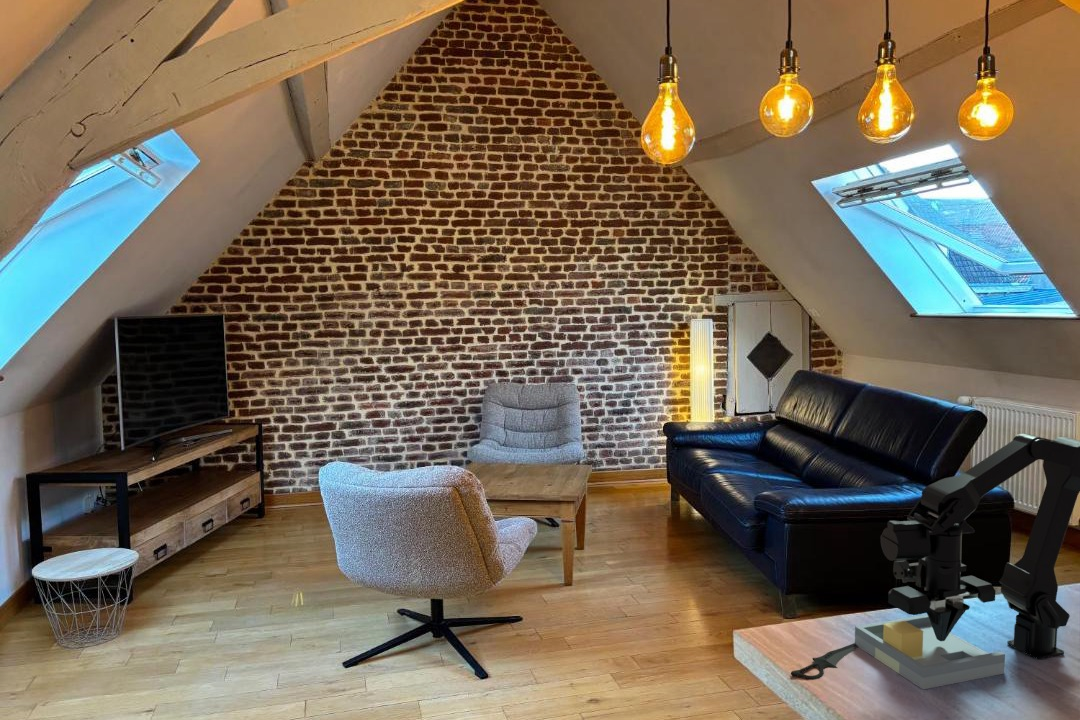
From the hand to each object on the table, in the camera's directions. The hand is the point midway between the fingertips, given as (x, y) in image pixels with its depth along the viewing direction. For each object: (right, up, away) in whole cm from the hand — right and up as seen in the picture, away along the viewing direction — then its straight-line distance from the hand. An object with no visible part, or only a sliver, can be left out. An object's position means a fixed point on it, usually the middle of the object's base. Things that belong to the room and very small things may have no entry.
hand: (940, 640), depth 141 cm
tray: (-3, -3, -1) cm, 4 cm away
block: (-8, -1, -2) cm, 8 cm away
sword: (-18, -4, +1) cm, 18 cm away
